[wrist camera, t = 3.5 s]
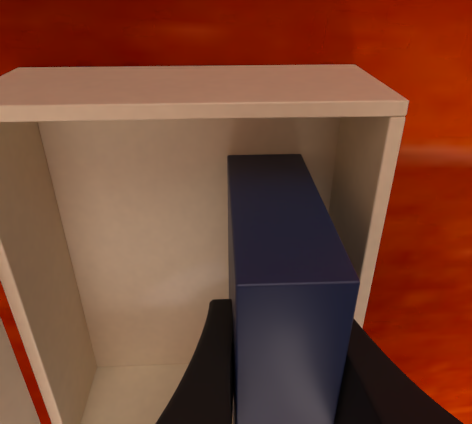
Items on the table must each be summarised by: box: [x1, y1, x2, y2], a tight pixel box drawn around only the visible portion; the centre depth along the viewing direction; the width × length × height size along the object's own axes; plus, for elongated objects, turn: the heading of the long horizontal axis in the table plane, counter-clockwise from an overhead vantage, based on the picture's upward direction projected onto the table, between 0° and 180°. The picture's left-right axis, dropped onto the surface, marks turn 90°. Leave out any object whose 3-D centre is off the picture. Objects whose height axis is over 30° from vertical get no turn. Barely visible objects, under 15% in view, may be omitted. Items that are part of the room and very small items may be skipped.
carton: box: [0, 64, 409, 424], centre depth 15 cm, size 11×14×4 cm
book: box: [227, 154, 360, 424], centre depth 14 cm, size 3×8×7 cm, turn 0°
